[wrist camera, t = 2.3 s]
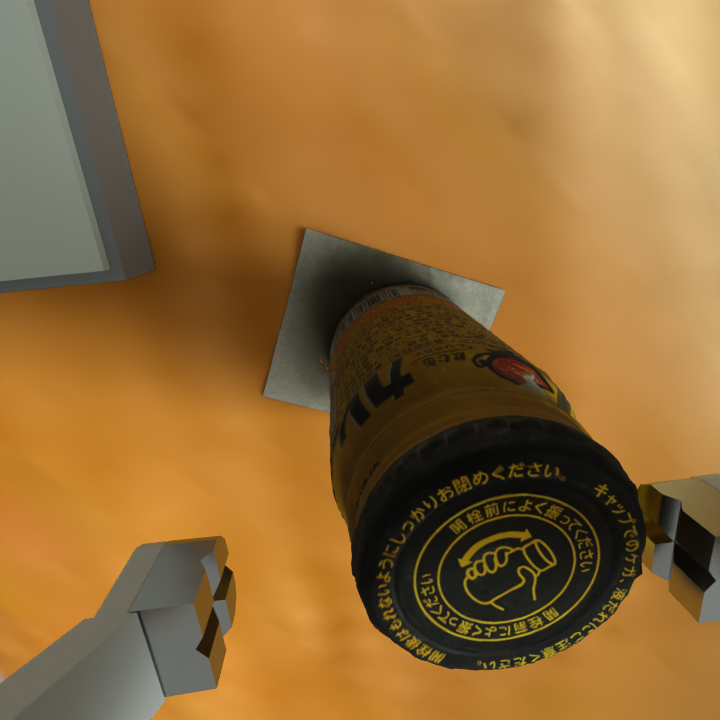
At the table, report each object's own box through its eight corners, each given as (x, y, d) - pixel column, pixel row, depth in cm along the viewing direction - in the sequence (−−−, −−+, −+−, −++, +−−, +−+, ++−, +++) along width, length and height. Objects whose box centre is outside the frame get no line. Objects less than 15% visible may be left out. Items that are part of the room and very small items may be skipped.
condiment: (442, 438, 20) (589, 733, 9) (263, 394, 19) (164, 675, 7) (504, 289, 18) (802, 425, 7) (306, 227, 17) (260, 264, 5)
